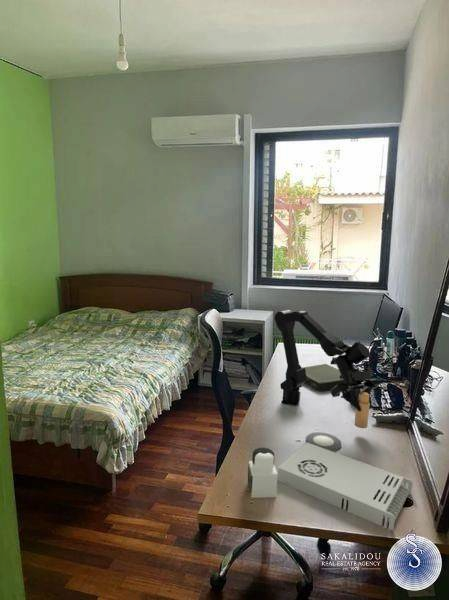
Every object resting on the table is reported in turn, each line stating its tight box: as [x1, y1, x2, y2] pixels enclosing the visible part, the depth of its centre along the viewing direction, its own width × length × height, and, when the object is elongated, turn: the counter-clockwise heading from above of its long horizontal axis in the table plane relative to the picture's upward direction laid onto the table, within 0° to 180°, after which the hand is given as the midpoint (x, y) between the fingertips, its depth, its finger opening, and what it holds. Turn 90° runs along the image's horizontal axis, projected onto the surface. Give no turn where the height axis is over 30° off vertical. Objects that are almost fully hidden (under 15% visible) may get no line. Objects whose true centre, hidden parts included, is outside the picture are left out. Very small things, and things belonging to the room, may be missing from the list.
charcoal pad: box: [305, 431, 342, 452], centre depth 147 cm, size 12×12×1 cm
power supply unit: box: [277, 441, 413, 532], centre depth 122 cm, size 19×33×5 cm, turn 54°
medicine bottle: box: [247, 447, 278, 499], centre depth 119 cm, size 7×7×12 cm
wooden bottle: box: [354, 392, 370, 429], centre depth 152 cm, size 4×4×12 cm
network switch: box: [302, 363, 344, 392], centre depth 205 cm, size 23×23×5 cm
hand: (365, 409), depth 151 cm, fingers closed on wooden bottle, 4 cm apart
